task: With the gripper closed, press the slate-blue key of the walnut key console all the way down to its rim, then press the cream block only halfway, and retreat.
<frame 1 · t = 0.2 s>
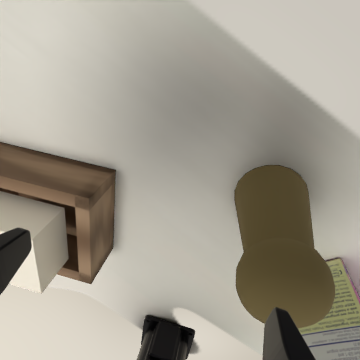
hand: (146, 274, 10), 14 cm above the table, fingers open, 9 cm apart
console: (16, 187, 29), on the table
cream block: (20, 241, 23), point 7 cm above the table, slide at 0.0 cm
cork: (269, 195, 24), on the table
box: (328, 297, 28), on the table
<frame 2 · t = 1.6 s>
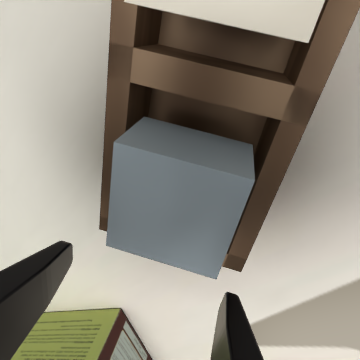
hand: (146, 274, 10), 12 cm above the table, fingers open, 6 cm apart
protein box: (89, 335, 36), on the table
console: (217, 70, 17), on the table
slate key: (179, 195, 14), point 6 cm above the table, slide at 0.0 cm
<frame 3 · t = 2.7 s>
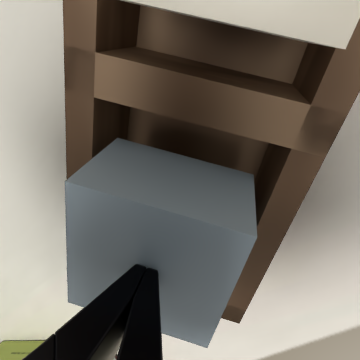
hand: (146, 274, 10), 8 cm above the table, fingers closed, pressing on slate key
console: (210, 79, 14), on the table
slate key: (160, 238, 11), point 6 cm above the table, slide at 0.2 cm, touching gripper
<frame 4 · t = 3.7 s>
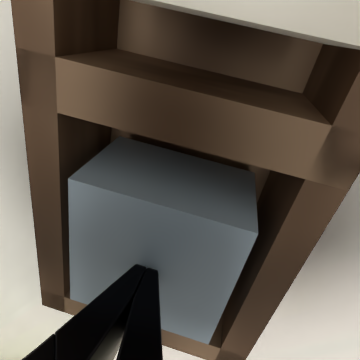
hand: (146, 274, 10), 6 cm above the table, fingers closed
console: (204, 87, 12), on the table
slate key: (162, 236, 11), point 4 cm above the table, slide at 2.7 cm
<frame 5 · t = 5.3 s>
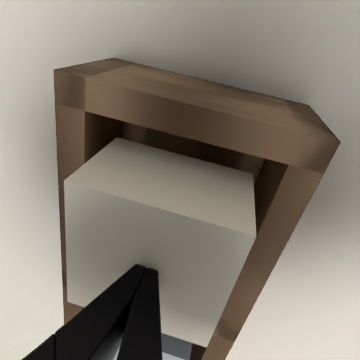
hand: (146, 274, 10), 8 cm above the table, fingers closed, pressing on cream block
console: (169, 242, 19), on the table
cream block: (159, 238, 11), point 6 cm above the table, slide at 0.8 cm, touching gripper
slate key: (142, 338, 19), point 4 cm above the table, slide at 2.7 cm
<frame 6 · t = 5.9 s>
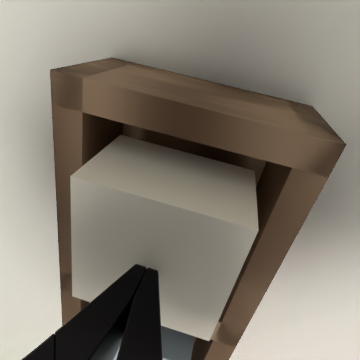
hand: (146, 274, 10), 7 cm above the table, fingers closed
console: (170, 245, 19), on the table
cream block: (163, 233, 12), point 5 cm above the table, slide at 1.3 cm
slate key: (142, 342, 18), point 4 cm above the table, slide at 2.7 cm
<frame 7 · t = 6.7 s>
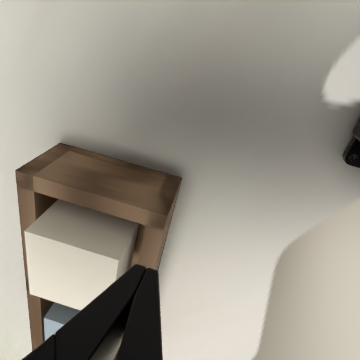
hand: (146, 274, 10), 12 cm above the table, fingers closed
console: (107, 258, 27), on the table
cream block: (84, 256, 20), point 5 cm above the table, slide at 1.3 cm
slate key: (86, 326, 26), point 4 cm above the table, slide at 2.7 cm
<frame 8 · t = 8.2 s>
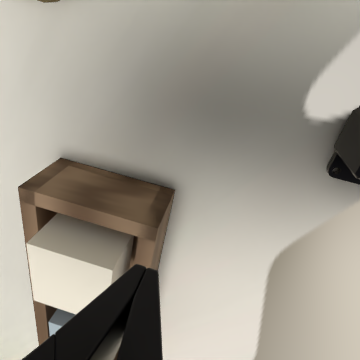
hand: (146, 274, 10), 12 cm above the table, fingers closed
console: (109, 265, 28), on the table
cream block: (84, 265, 21), point 5 cm above the table, slide at 1.3 cm
slate key: (89, 330, 28), point 4 cm above the table, slide at 2.7 cm
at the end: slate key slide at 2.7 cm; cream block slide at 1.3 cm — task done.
